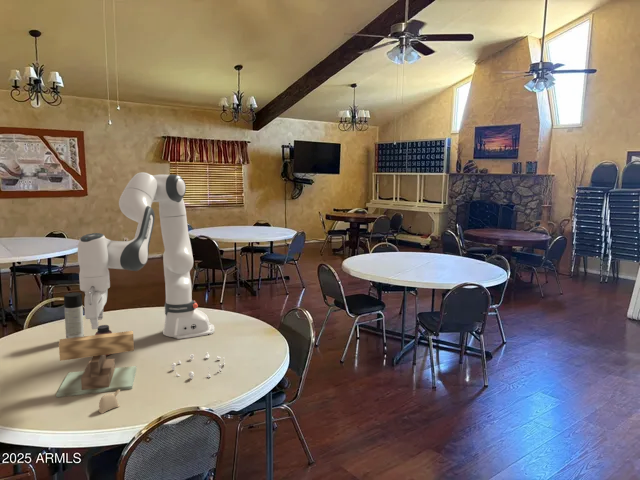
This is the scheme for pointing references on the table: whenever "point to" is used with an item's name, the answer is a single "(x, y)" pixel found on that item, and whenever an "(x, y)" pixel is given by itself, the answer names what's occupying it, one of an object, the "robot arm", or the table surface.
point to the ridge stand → (98, 378)
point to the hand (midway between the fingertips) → (97, 323)
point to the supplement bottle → (103, 331)
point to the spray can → (73, 315)
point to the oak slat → (96, 345)
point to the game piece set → (191, 371)
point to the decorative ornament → (108, 402)
